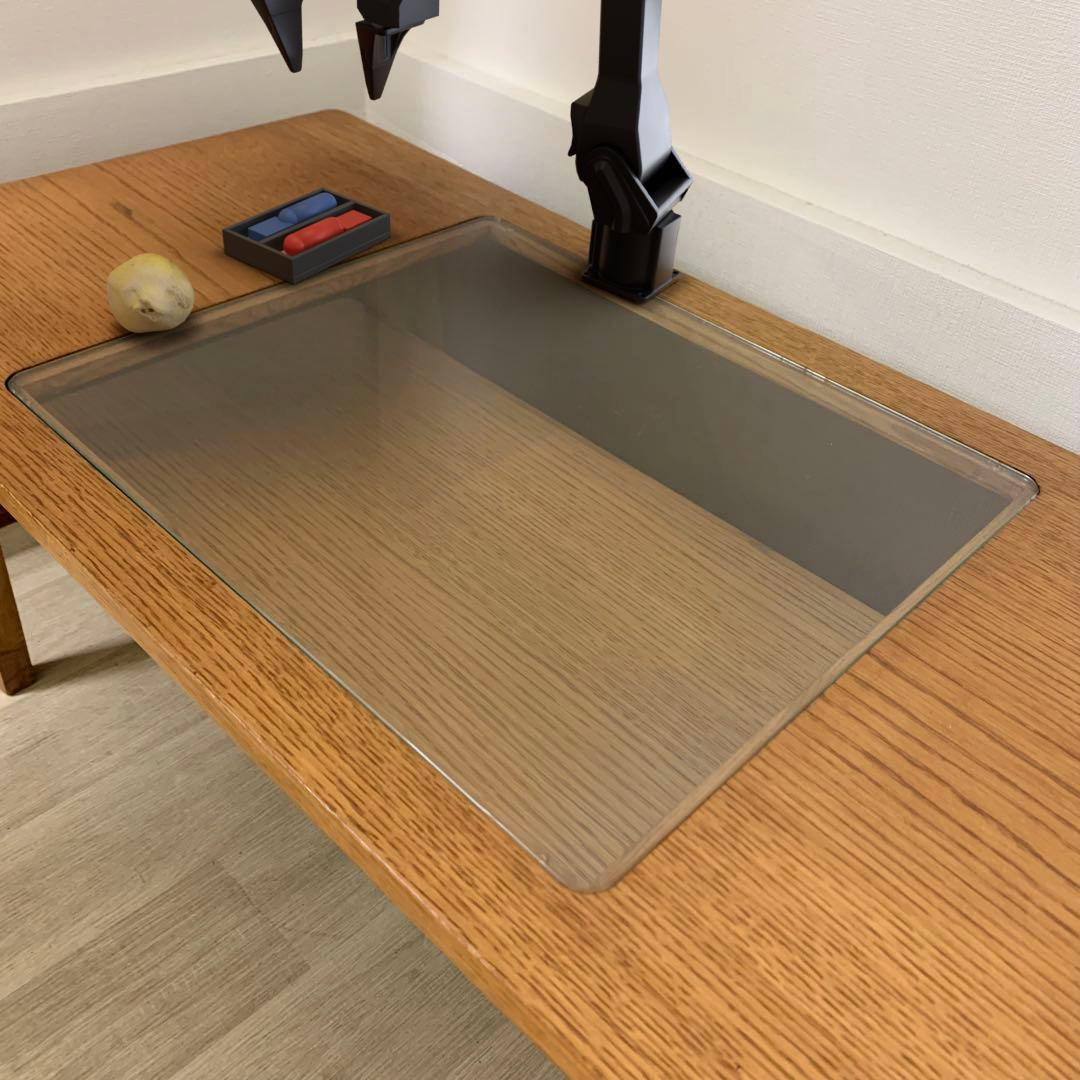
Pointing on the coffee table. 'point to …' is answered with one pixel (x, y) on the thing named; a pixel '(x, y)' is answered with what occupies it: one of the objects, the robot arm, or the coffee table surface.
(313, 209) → the blue block-ended handle
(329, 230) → the red capsule-ended rod
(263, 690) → the coffee table surface
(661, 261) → the robot arm
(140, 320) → the fruit
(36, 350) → the coffee table surface
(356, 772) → the coffee table surface
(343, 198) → the tray
